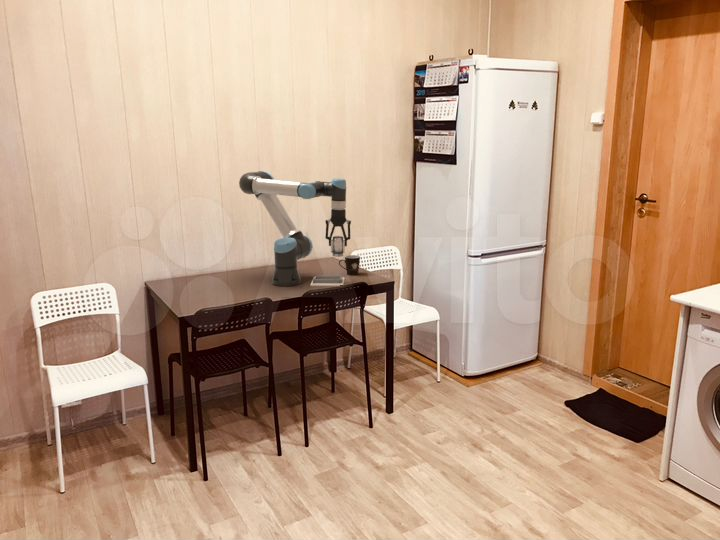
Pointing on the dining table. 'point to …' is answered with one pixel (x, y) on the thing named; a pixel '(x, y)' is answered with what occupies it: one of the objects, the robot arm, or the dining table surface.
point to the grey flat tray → (327, 281)
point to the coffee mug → (351, 264)
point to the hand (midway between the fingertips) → (337, 252)
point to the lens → (337, 246)
